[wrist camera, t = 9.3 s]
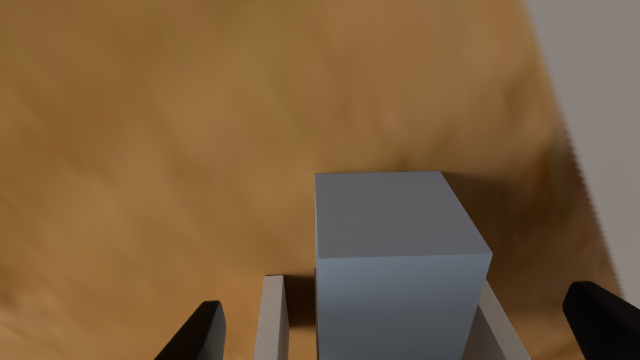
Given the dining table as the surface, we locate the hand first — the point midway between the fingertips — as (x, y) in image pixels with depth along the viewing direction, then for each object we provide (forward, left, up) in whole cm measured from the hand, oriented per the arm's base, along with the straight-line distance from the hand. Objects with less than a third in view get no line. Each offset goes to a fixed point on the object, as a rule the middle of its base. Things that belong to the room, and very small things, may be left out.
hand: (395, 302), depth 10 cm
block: (0, 0, -4) cm, 4 cm away
